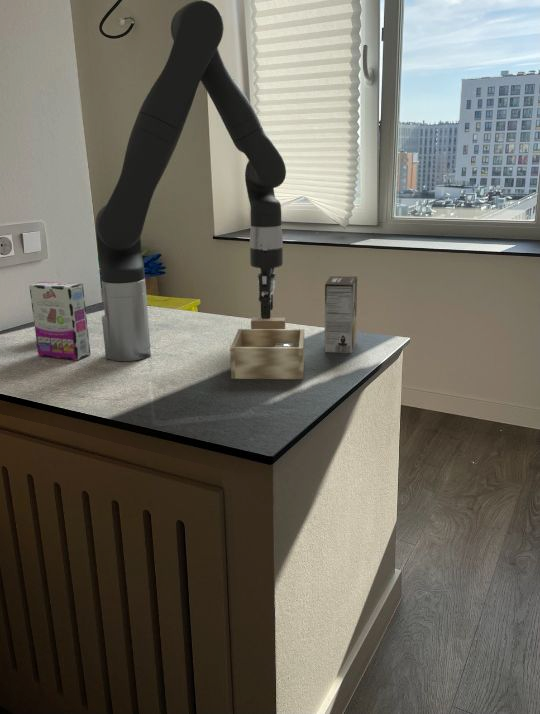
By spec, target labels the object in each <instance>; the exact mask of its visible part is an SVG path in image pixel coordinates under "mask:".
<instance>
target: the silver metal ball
mask: <svg viewBox="0 0 540 714" xmlns="http://www.w3.org/2000/svg"><path fill="white" fill-rule="evenodd" d="M275 347H294V343H291V342H279V343H276V344H275Z"/></svg>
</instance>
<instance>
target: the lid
mask: <svg viewBox="0 0 540 714" xmlns="http://www.w3.org/2000/svg"><path fill="white" fill-rule="evenodd" d="M250 329H286V317H270V318H269V319H262V318H261V317H251V320H250Z"/></svg>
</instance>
